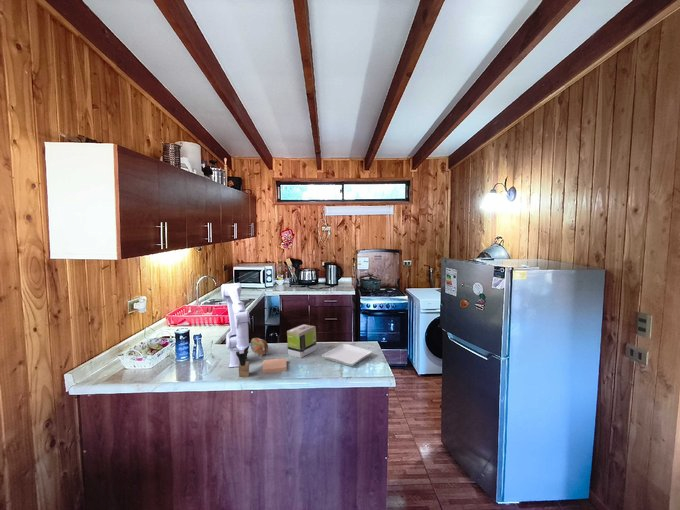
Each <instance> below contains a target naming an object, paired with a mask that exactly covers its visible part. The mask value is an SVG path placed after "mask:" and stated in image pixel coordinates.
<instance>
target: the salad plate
mask: <svg viewBox="0 0 680 510" xmlns="http://www.w3.org/2000/svg"><path fill="white" fill-rule="evenodd" d="M372 353H373V351H372V350H369V349H366V348H362V347H359V346H355V345H351V344H347V343H341V344H340V345H338V346H336V347H334V348H332V349H330V350H329V351H326V352H324V353H322V354H321V356H322V358H323V359H326V360H328V361H332V362H335V363H338V362H339V364H342V365H345V366H349V367H352V366H354V365H355V364H357V363H359V362H360V361H362V360H363V359H366V358H367V357H369V356H370V355H372Z"/></svg>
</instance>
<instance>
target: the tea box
mask: <svg viewBox="0 0 680 510" xmlns="http://www.w3.org/2000/svg"><path fill="white" fill-rule="evenodd" d="M316 329H317V327H316V326H315V325H309V324H301V325H297V326H296V327H292V328H291V329H288V330H287V331H286V336H287V355H288V356H290V357H291V356H292V357H294V356H295V358H297V359H301V358H303V357H305V356H307V355H309V354H311V353H313V352H315V351H317V349H318V348H317V347H318V346H317V344H318V343H317V332H316V331H317V330H316Z"/></svg>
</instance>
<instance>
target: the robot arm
mask: <svg viewBox="0 0 680 510" xmlns="http://www.w3.org/2000/svg"><path fill="white" fill-rule="evenodd" d="M221 284H222V285H221V286H220V289H221V290H220V291H221V298H222V301H225V302H226V304H227V305H226V306H227V312H228V320H229V321H228V323H229V329H230V331H229V332H227V333H226V334H225V344H226V349H228V350H229V364H228V368H235V367H238V368H239V363H240V365H241V366H245V364H246V362H247V359H248V353H249V349H250V347H251V343H250V342H249V341H250V339H249V322H250V313H249V310H247V309H246V307H245V305H244V302H243V301H241V298H240V297H241V293H242V284H241V283H240V282H234V283H233V282H232V283H221Z"/></svg>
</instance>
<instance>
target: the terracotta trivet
mask: <svg viewBox="0 0 680 510" xmlns="http://www.w3.org/2000/svg"><path fill="white" fill-rule="evenodd" d="M287 371H288V369H287V357H286V358H282V357H281V358H273V359H263V361H262V374H269V373H271V374H272V373H281V372H287Z"/></svg>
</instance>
